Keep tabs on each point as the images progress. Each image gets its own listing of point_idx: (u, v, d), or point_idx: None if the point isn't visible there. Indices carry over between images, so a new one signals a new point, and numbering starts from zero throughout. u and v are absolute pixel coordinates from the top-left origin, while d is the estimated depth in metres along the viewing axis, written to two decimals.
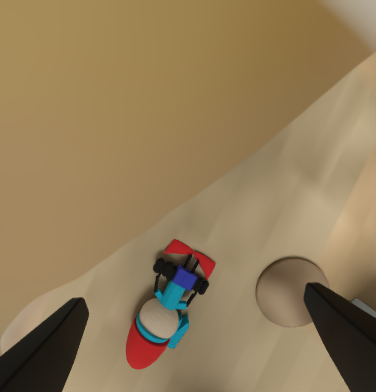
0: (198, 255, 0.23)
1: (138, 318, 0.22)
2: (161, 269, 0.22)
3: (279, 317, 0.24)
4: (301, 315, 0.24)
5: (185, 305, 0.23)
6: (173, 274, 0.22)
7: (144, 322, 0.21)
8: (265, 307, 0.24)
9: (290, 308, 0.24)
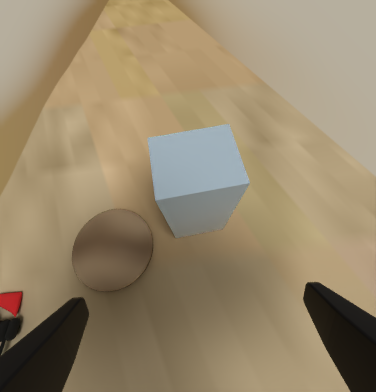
0: None
1: None
2: None
3: (117, 278, 0.20)
4: (136, 257, 0.21)
5: None
6: None
7: None
8: (96, 282, 0.20)
9: (120, 260, 0.20)
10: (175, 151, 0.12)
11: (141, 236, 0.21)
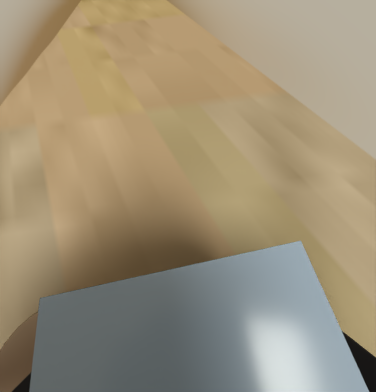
0: None
1: None
2: None
3: None
4: None
5: None
6: None
7: None
8: None
9: None
10: (126, 373, 0.03)
11: None
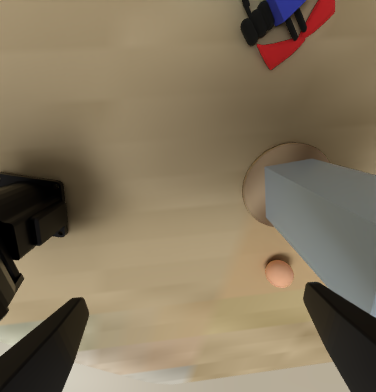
0: (299, 43, 0.15)
1: None
2: None
3: (254, 188, 0.19)
4: (265, 209, 0.20)
5: None
6: None
7: None
8: (261, 167, 0.18)
9: None
10: None
11: None
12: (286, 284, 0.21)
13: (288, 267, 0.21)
